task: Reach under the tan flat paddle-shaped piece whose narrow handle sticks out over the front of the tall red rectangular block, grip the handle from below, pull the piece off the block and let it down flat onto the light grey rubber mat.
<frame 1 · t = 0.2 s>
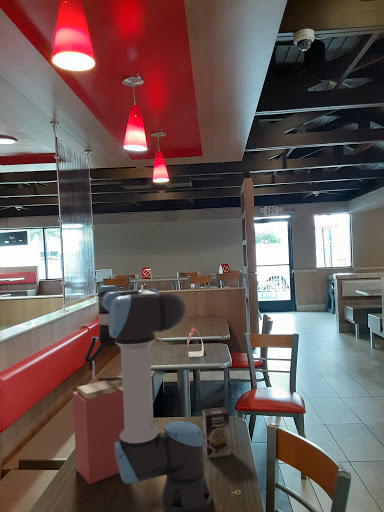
hand: (110, 375, 163), 27 cm above the table, tool pointing down, fingers open, 13 cm apart
mat: (157, 447, 157), on the table
tan flat paddle-shaped piece: (98, 391, 142), point 28 cm above the table, touching red rectangular block
coffee box: (217, 453, 151), on the table
red rectangular block: (101, 469, 143), on the table
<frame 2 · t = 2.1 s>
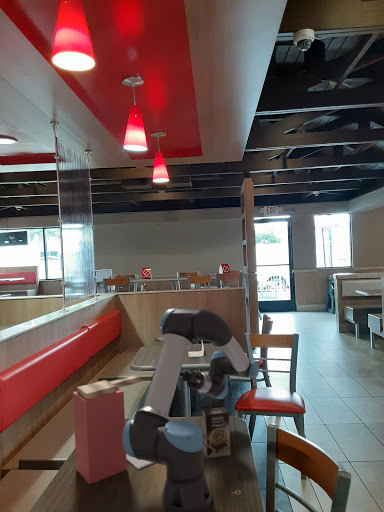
hand: (161, 366, 159), 32 cm above the table, tool pointing upward, fingers open, 13 cm apart
nothing on the table moved.
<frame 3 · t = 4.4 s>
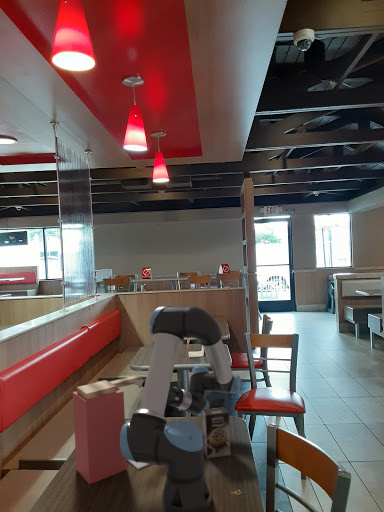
hand: (137, 382, 153), 27 cm above the table, tool pointing upward, fingers open, 13 cm apart
nothing on the table moved.
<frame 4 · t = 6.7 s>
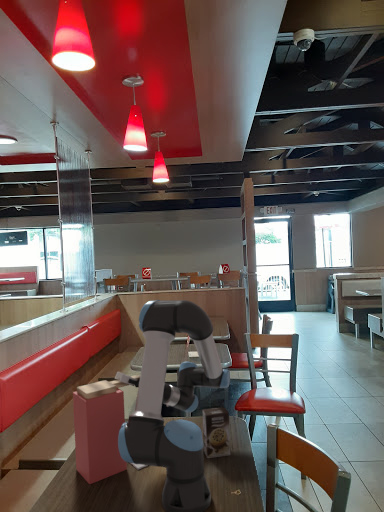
hand: (118, 376, 147), 32 cm above the table, tool pointing upward, fingers closed on tan flat paddle-shaped piece, 3 cm apart
tan flat paddle-shaped piece: (98, 391, 142), point 28 cm above the table, touching gripper, red rectangular block
everything else where it was.
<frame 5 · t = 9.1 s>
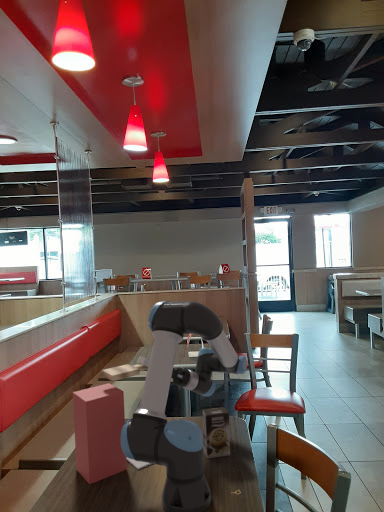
hand: (141, 360, 153), 36 cm above the table, tool pointing upward, fingers closed on tan flat paddle-shaped piece, 3 cm apart
tan flat paddle-shaped piece: (121, 374, 148), point 32 cm above the table, touching gripper
everything else where it was.
when the fingers open (26 cm above the table, at t = 11.9 s): tan flat paddle-shaped piece drops 21 cm, resting on mat.
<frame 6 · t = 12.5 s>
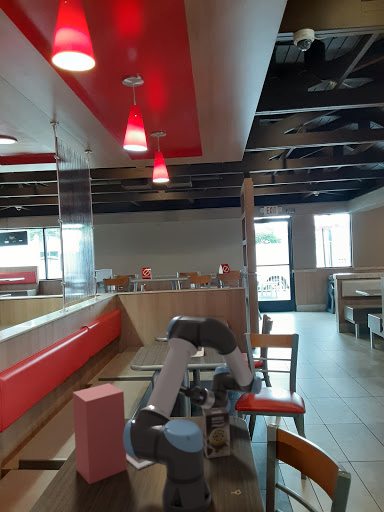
hand: (163, 382, 159), 25 cm above the table, tool pointing upward, fingers open, 12 cm apart
tan flat paddle-shaped piece: (145, 450, 154), point 1 cm above the table, touching mat
everything else where it was.
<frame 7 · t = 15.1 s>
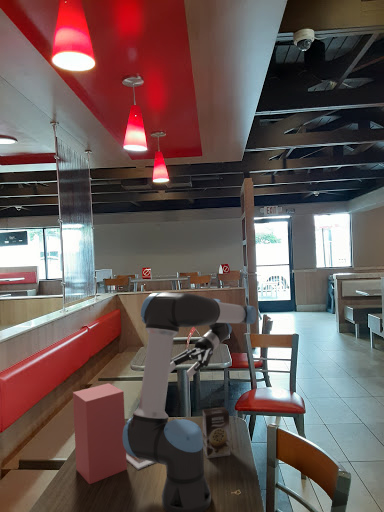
hand: (175, 374, 155), 29 cm above the table, tool tilted 70°, fingers open, 13 cm apart
nothing on the table moved.
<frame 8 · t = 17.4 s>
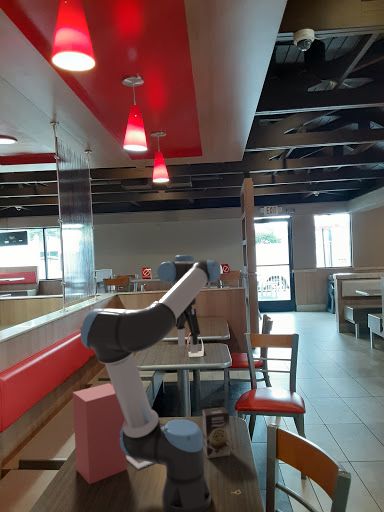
hand: (187, 349, 155), 39 cm above the table, tool pointing down, fingers open, 13 cm apart
nothing on the table moved.
at the end: tan flat paddle-shaped piece inside the target area (1.2 cm from its centre), point 0.6 cm above the table; the gripper is holding nothing; tan flat paddle-shaped piece tilted 0° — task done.
